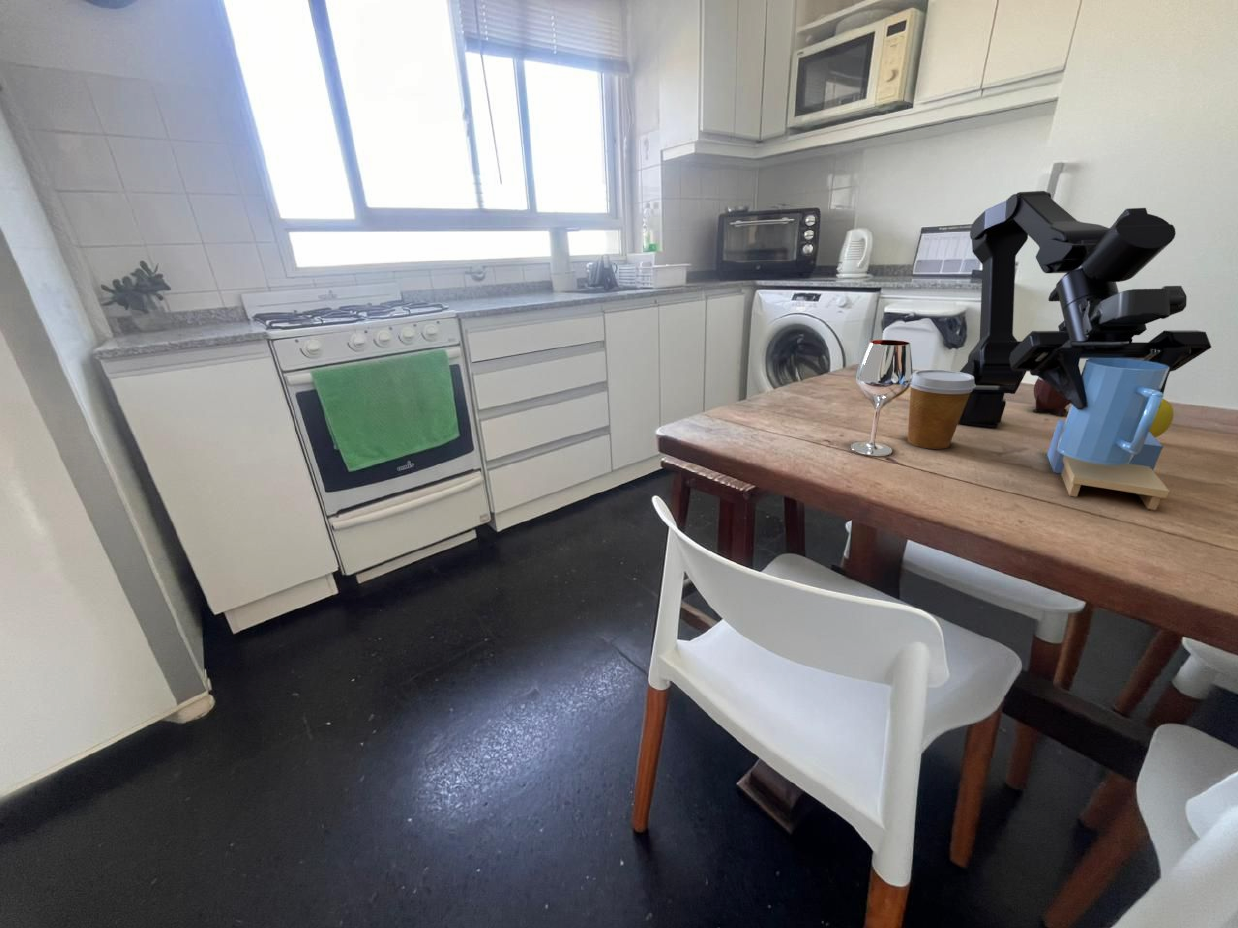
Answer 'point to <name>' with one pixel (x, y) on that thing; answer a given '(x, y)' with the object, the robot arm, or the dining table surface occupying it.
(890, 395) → the wineglass
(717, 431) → the dining table surface
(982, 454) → the dining table surface
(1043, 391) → the mate gourd
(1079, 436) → the blue mug
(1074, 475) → the blue and wooden stand
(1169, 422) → the lemon
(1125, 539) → the dining table surface
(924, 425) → the disposable coffee cup
